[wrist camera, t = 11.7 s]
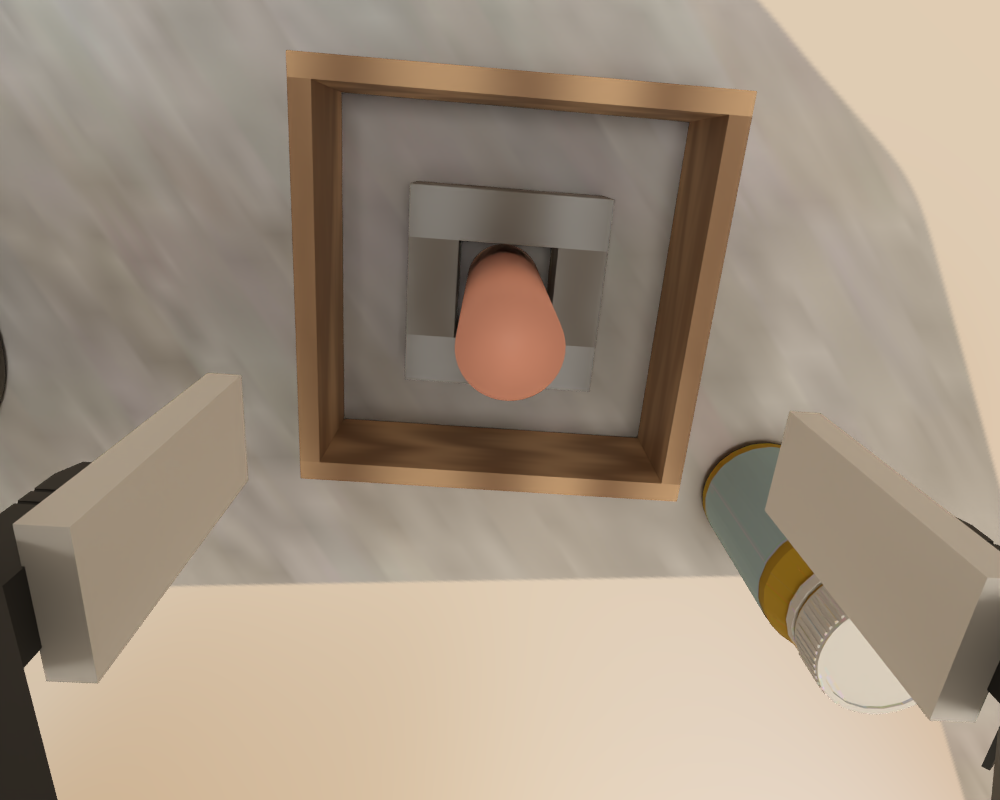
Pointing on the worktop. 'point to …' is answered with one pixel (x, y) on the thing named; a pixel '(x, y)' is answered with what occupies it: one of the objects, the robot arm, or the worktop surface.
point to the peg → (508, 327)
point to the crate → (519, 221)
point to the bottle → (794, 587)
